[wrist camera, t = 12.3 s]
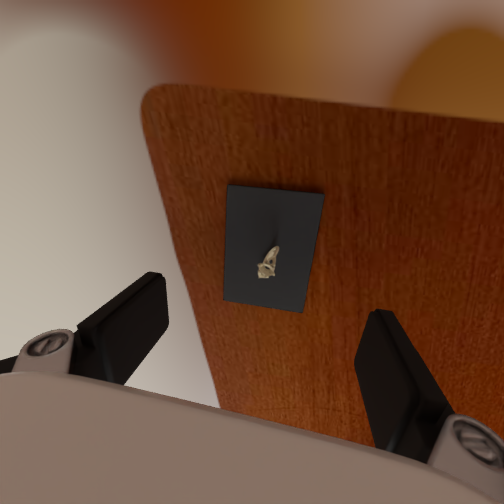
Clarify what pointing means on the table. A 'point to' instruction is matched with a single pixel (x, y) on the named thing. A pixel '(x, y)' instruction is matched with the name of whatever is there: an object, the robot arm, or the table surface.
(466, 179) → the table surface
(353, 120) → the table surface
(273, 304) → the mat
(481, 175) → the table surface
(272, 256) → the ring
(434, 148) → the table surface
